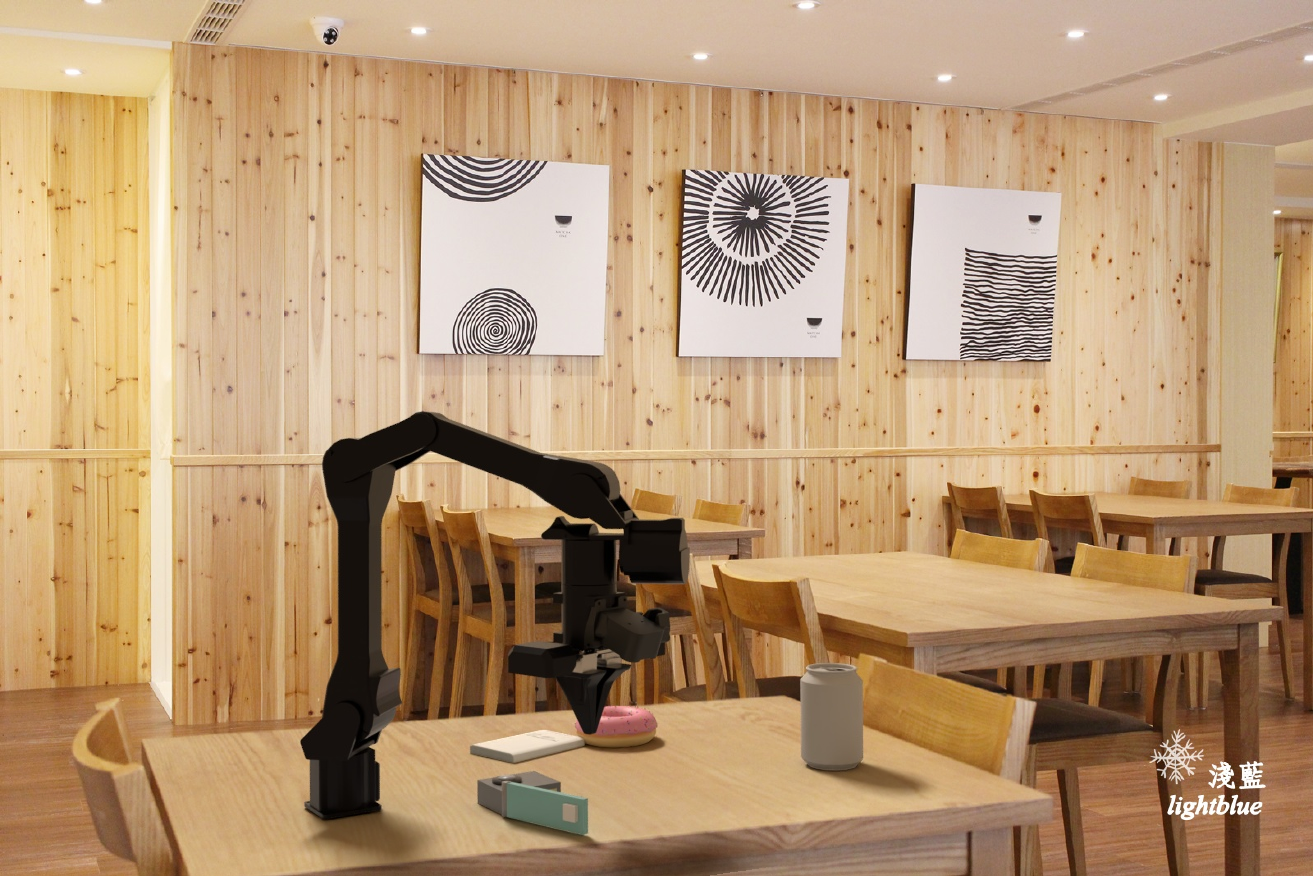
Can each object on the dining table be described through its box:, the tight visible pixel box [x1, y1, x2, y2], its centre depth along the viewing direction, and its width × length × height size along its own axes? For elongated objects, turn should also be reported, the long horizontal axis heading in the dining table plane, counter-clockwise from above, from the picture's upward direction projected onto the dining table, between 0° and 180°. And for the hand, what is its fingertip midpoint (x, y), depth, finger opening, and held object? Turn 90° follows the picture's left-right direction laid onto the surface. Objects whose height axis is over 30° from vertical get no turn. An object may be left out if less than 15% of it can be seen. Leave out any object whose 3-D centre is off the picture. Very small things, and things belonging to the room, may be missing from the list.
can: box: [799, 662, 864, 772], centre depth 162 cm, size 8×8×12 cm
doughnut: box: [574, 704, 659, 748], centre depth 176 cm, size 11×11×4 cm
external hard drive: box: [469, 729, 586, 764], centre depth 171 cm, size 2×8×12 cm
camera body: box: [476, 770, 562, 816], centre depth 145 cm, size 7×6×3 cm
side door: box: [501, 781, 589, 836], centre depth 136 cm, size 12×1×4 cm, turn 52°
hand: (589, 733), depth 138 cm, fingers closed
